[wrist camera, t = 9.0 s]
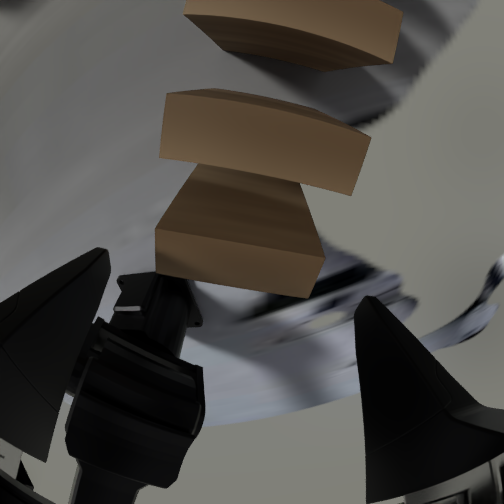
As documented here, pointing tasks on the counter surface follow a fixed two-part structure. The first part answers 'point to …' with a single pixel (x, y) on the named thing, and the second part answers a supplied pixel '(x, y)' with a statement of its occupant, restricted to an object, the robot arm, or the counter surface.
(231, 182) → the walnut domino
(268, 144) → the walnut domino
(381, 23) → the walnut domino
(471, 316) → the counter surface
